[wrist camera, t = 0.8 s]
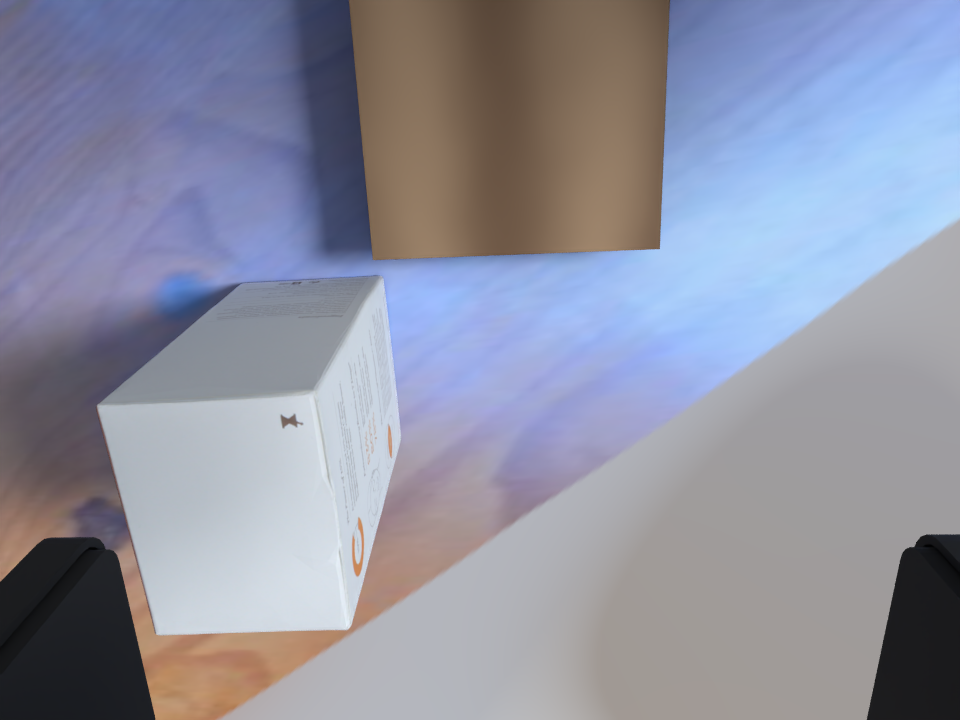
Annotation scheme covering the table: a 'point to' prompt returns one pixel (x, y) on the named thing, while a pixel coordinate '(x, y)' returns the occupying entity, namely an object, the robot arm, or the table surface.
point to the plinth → (511, 124)
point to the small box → (260, 458)
